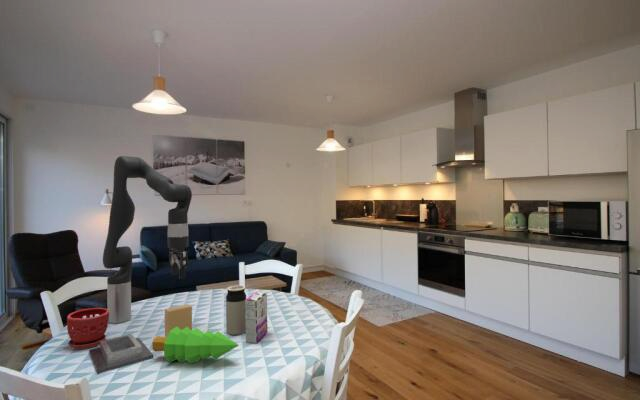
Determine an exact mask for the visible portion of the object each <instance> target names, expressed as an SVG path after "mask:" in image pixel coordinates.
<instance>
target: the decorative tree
mask: <svg viewBox="0 0 640 400" xmlns="http://www.w3.org/2000/svg"><path fill="white" fill-rule="evenodd" d="M151 344H152V350H153V351H154V352H164V353H163V358H164V359H165V360H167V362H169V363H172V362H175V360H177V361H178V362H179V363H183V362H185V361H186V362H188V363H189V364H190V365H192V364H194V363H196V362H197V361H199V360H201V359H202V360H206V359H208V358H210V357H212V359H213V360H214V361H216V360H217V359H219V358H220V357H222V356H224V355H225V354H227V353H229V352H231V351H232V350H234V349H235V348H237V347H239V345H240V344H238V343H237V342H235V341H233V339H231V338H229V337H227V335H225V334H223V333H221V332H220V331H216V332H215V333H214V332H212V331H211V330H207V331H205V332H204V331H202V330H201V329H199V328H198V327H195V328H192V331H191V330H190V329H189V328H188V327H186V328H185V329H183V330H181V329H179V328H178V327H175V328H174V329H172V330H171V331H169V333H168V336H167V337H165V336H161V335H160V336H155V337H154V339H153V340H152V343H151Z"/></svg>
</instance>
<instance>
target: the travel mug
mask: <svg viewBox="0 0 640 400" xmlns="http://www.w3.org/2000/svg"><path fill="white" fill-rule="evenodd" d="M226 290H227V294H226V296H225V307H226V308H225V309H226V310H225V313H226V314H225V316H226V317H225V318H226V320H225V325H226V327H225V329H226V330H225V331H226V334H228V335H231V336H237V335H242V334H244V333H246V324H245V323H246V322H245V300H246V299H247V294H246V292H245V290H246V286H244V285H229V286H228V287H226Z"/></svg>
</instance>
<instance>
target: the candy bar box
mask: <svg viewBox="0 0 640 400" xmlns="http://www.w3.org/2000/svg"><path fill="white" fill-rule="evenodd" d="M267 294H268V292H266V291H265V292H264V291H255V292H254V293H253V294H251V295H250V296H249V297H246V300H245V322H246V323H245V324H246V331H245V343H246V344H258V343H259V342H261V340H262V339H263V338H264V336H266V335H267V333H268V300H267V296H268V295H267Z"/></svg>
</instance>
